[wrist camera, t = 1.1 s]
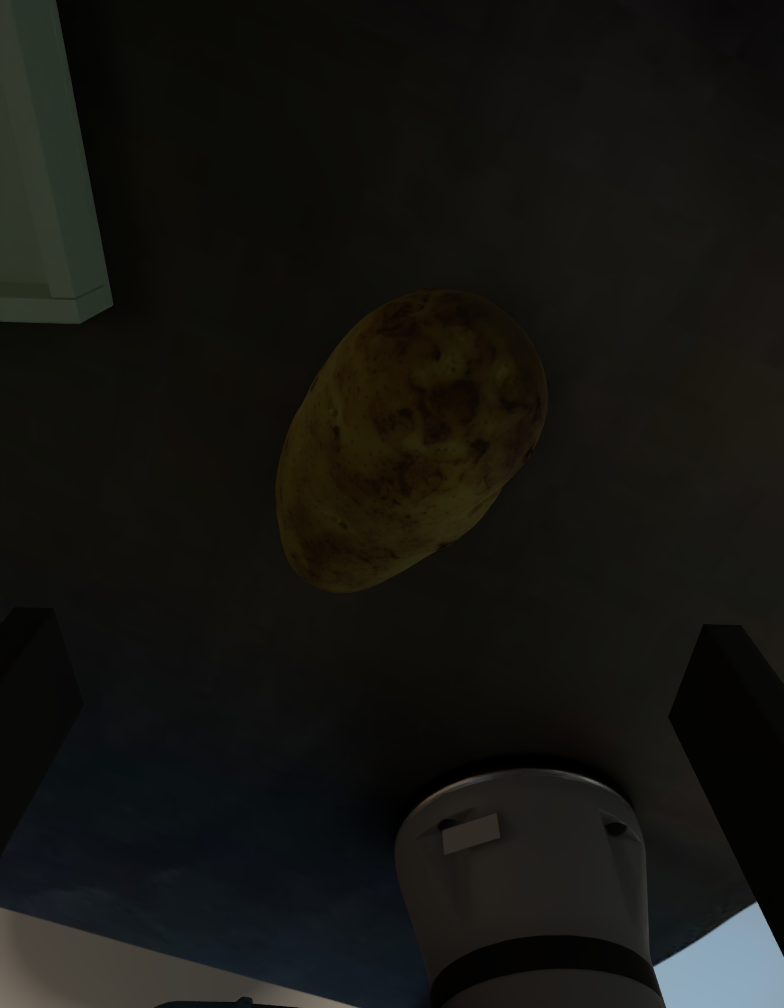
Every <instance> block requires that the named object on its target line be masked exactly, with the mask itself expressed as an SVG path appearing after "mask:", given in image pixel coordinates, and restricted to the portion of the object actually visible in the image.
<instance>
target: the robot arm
mask: <svg viewBox="0 0 784 1008" xmlns="http://www.w3.org/2000/svg"><path fill="white" fill-rule="evenodd" d="M83 705H84V703H83V700H82V697H81V694H80V691H79V688H78V685H77V681H76V678H75V675H74V672H73V669H72V666H71V663H70V660H69V656H68V653H67V650H66V647H65V644H64V641H63V638H62V634H61V631H60V628H59V625H58V622H57V619H56V616H55V613H54V609H53V608H18V607H14V609H13V610H12V611H11V612H10V614H9V615H8V616H7V617H6V618H5V620H4V621H3V622H2V623H1V625H0V856H1V854H2V852H3V851H4V849H5V847H6V845H7V843H8V842H9V840H10V838H11V836H12V834H13V832H14V831H15V829H16V827H17V825H18V823H19V821H20V820H21V818H22V816H23V814H24V812H25V811H26V809H27V807H28V805H29V803H30V801H31V800H32V798H33V796H34V794H35V792H36V791H37V789H38V787H39V785H40V783H41V781H42V780H43V778H44V776H45V774H46V772H47V770H48V769H49V767H50V765H51V763H52V761H53V760H54V758H55V756H56V754H57V752H58V750H59V749H60V747H61V745H62V743H63V741H64V740H65V738H66V736H67V734H68V732H69V730H70V729H71V727H72V725H73V723H74V721H75V719H76V718H77V716H78V714H79V712H80V710H81V709H82V707H83ZM668 718H669V720H670V722H671V724H672V726H673V728H674V730H675V732H676V734H677V736H678V738H679V741H680V743H681V745H682V747H683V749H684V751H685V753H686V755H687V757H688V759H689V761H690V763H691V765H692V768H693V770H694V772H695V774H696V776H697V778H698V780H699V782H700V784H701V786H702V788H703V790H704V792H705V794H706V797H707V799H708V801H709V803H710V805H711V807H712V809H713V811H714V813H715V815H716V817H717V819H718V821H719V824H720V826H721V828H722V830H723V832H724V834H725V836H726V838H727V840H728V842H729V844H730V846H731V848H732V850H733V853H734V855H735V857H736V859H737V861H738V863H739V865H740V867H741V869H742V871H743V873H744V875H745V877H746V880H747V882H748V884H749V886H750V888H751V890H752V892H753V894H754V896H755V898H756V900H757V902H758V904H759V907H760V909H761V910H762V913H763V915H764V917H765V919H766V921H767V923H768V925H769V927H770V929H771V931H772V933H773V936H774V938H775V940H776V942H777V944H778V946H779V948H780V950H781V952H782V954H783V956H784V684H783V683H782V682H781V680H780V679H779V677H778V676H777V675H776V673H775V672H774V670H773V669H772V668H771V666H770V665H769V664H768V662H767V661H766V659H765V658H764V657H763V655H762V654H761V653H760V651H759V650H758V648H757V647H756V646H755V644H754V643H753V641H752V640H751V639H750V637H749V636H748V635H747V633H746V632H745V630H744V629H743V628H742V626H741V625H712V624H703V627H702V629H701V632H700V635H699V637H698V640H697V643H696V645H695V648H694V651H693V653H692V656H691V658H690V661H689V664H688V666H687V669H686V672H685V674H684V677H683V680H682V682H681V685H680V687H679V690H678V693H677V695H676V698H675V701H674V703H673V706H672V709H671V711H670V714H669V716H668ZM394 856H395V864H396V872H397V878H398V882H399V885H400V888H401V891H402V894H403V897H404V900H405V903H406V906H407V909H408V913H409V916H410V919H411V922H412V925H413V928H414V931H415V934H416V937H417V940H418V943H419V946H420V950H421V953H422V956H423V959H424V962H425V965H426V968H427V971H428V976H429V982H430V995H431V1008H666V1006H665V1003H664V1000H663V997H662V994H661V991H660V988H659V984H658V981H657V978H656V975H655V972H654V969H653V966H652V962H651V958H650V953H649V934H648V907H647V881H646V854H645V846H644V841H643V836H642V831H641V827H640V824H639V822H638V819H637V816H636V814H635V811H634V808H633V806H632V803H631V801H630V799H629V797H628V796H627V794H626V793H625V792H624V791H623V789H622V788H621V787H620V786H619V785H618V784H617V783H615V782H614V781H613V780H611V779H610V778H609V777H607V776H606V775H604V774H602V773H600V772H599V771H596V770H594V769H592V768H590V767H587V766H584V765H582V764H579V763H575V762H571V761H568V760H562V759H557V758H549V757H538V756H516V757H504V758H497V759H491V760H486V761H481V762H477V763H473V764H470V765H466V766H464V767H461V768H458V769H455V770H453V771H451V772H448V773H446V774H444V775H442V776H440V777H438V778H437V779H435V780H433V781H432V782H430V783H429V784H427V785H426V786H424V787H423V788H422V789H420V790H419V791H418V792H417V793H416V794H415V795H414V796H413V797H412V798H411V799H410V800H409V801H408V802H407V803H406V805H405V806H404V808H403V809H402V811H401V812H400V815H399V817H398V819H397V822H396V825H395V832H394ZM252 1003H253V1001H252V998H248V997H241V998H240V999H239V1000H238V1001H236V1002H202V1001H201V1002H200V1001H197V1002H196V1001H174V1002H167V1003H164V1004H161V1005H159V1006H157V1007H155V1008H297V1007H286V1006H285V1007H284V1006H274V1005H262V1004H252Z"/></svg>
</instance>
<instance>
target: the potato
mask: <svg viewBox="0 0 784 1008" xmlns="http://www.w3.org/2000/svg"><path fill="white" fill-rule="evenodd" d="M548 384H549V382H548V381H547V380H546V377H545V373H544V369H543V366H542V363H541V360H540V357H539V355H538V353H537V351H536V349H535V347H534V345H533V343H532V341H531V339H530V338H529V336H528V335H527V334H526V332H525V331H524V330H523V329H522V327H521V326H520V325H519V324H518V323H517V322H516V321H515V320H514V319H513V318H512V317H511V316H510V315H508V314H507V313H506V312H505V311H504V310H503V309H501V308H500V307H499V306H497V305H496V304H494V303H493V302H491V301H489V300H488V299H486V298H484V297H482V296H479V295H475V294H472V293H469V292H465V291H460V290H448V289H436V288H430V289H428V288H423V289H421V290H419V291H416V292H412V293H411V294H407V295H404V296H402V297H399V298H397V299H394V300H392V301H390V302H388V303H386V304H384V305H382V306H379V307H378V308H376V309H375V310H373V311H372V312H370V313H369V314H368V315H366V316H365V317H364V318H363V319H361V320H360V321H359V322H358V323H357V324H356V325H355V326H354V327H353V328H352V329H351V330H350V331H349V332H348V333H347V335H346V336H345V337H344V338H343V339H342V341H341V342H340V343H339V344H338V345H337V347H336V348H335V349H334V350H333V352H332V353H331V355H330V356H329V357H328V359H327V360H326V362H325V363H324V365H323V366H322V368H321V369H320V371H319V373H318V374H317V376H316V377H315V379H314V381H313V383H312V385H311V387H310V389H309V391H308V393H307V395H306V397H305V399H304V401H303V403H302V405H301V406H300V408H299V409H298V411H297V413H296V414H295V416H294V418H293V420H292V423H291V425H290V427H289V430H288V433H287V437H286V440H285V443H284V446H283V449H282V452H281V456H280V461H279V466H278V471H277V477H276V488H275V493H276V511H277V518H278V524H279V530H280V536H281V541H282V545H283V548H284V551H285V554H286V557H287V559H288V562H289V563H290V565H291V567H292V568H293V570H294V571H295V573H296V574H297V575H298V576H299V577H300V578H301V579H302V580H304V581H305V582H306V583H308V584H310V585H312V586H314V587H316V588H319V589H322V590H325V591H329V592H335V593H352V592H357V591H361V590H365V589H368V588H371V587H373V586H375V585H377V584H380V583H382V582H384V581H386V580H387V579H389V578H391V577H393V576H395V575H397V574H399V573H401V572H402V571H404V570H406V569H407V568H409V567H411V566H412V565H414V564H415V563H417V562H419V561H420V560H422V559H424V558H425V557H427V556H428V555H430V554H432V553H434V552H436V551H439V552H440V551H443V549H444V548H449V546H452V545H454V544H455V543H457V542H458V541H459V540H460V539H461V537H462V535H463V534H465V533H466V532H468V531H469V530H470V529H471V528H472V527H474V526H475V525H476V523H477V522H478V521H479V520H480V519H481V518H482V517H483V515H484V514H485V513H486V512H487V510H488V509H489V508H490V506H491V505H492V504H493V502H494V501H495V500H496V498H497V497H498V495H499V493H500V491H501V490H502V488H503V486H504V484H505V483H506V482H507V481H509V480H510V479H511V478H512V477H513V476H514V475H515V474H516V473H517V472H518V470H519V469H520V468H521V467H522V466H523V464H524V463H525V462H526V461H527V460H528V459H529V457H530V456H531V454H532V453H533V449H534V448H535V446H536V444H537V442H538V439H539V437H540V434H541V431H542V428H543V425H544V422H545V419H546V416H547V414H548V412H549V394H548Z"/></svg>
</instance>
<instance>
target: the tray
mask: <svg viewBox="0 0 784 1008" xmlns="http://www.w3.org/2000/svg"><path fill="white" fill-rule="evenodd" d="M111 306H113V300H112V295H111V290H110V284H109V279H108V274H107V268H106V263H105V258H104V253H103V247H102V242H101V237H100V231H99V226H98V221H97V215H96V210H95V205H94V200H93V194H92V189H91V184H90V178H89V173H88V168H87V162H86V157H85V152H84V147H83V141H82V136H81V131H80V125H79V120H78V115H77V109H76V104H75V99H74V94H73V88H72V83H71V78H70V72H69V67H68V62H67V57H66V51H65V46H64V41H63V35H62V30H61V25H60V19H59V14H58V9H57V4H56V0H0V322H29V323H60V324H80V323H82V322H84V321H86V320H88V319H89V318H91V317H93V316H95V315H97V314H98V313H100V312H102V311H104V310H106V309H107V308H109V307H111Z"/></svg>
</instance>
